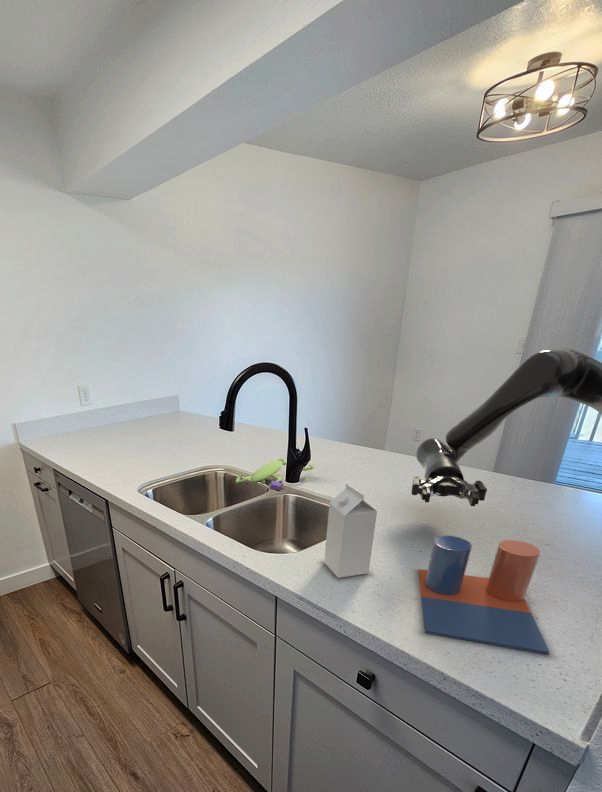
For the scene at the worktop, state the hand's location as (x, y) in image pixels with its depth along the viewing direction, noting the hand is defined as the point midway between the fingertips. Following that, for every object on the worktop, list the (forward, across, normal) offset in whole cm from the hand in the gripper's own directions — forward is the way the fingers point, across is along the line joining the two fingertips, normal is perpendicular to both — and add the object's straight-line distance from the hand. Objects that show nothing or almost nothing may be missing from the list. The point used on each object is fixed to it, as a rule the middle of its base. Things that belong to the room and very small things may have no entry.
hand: (450, 500), depth 91 cm
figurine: (-48, -47, +16) cm, 69 cm away
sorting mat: (+16, +5, +15) cm, 23 cm away
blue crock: (+11, 0, +14) cm, 18 cm away
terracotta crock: (+10, +11, +14) cm, 21 cm away
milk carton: (+8, -19, +15) cm, 26 cm away
